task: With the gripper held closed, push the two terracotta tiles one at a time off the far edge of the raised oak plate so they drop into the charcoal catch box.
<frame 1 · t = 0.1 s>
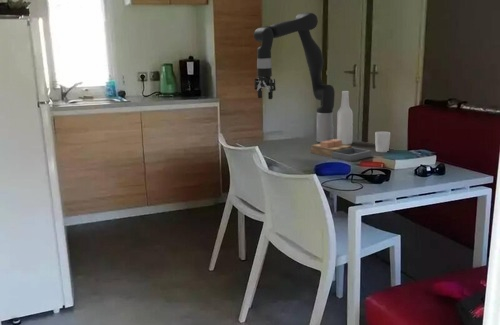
hand: (265, 98, 271), 29 cm above the table, tool pointing down, fingers open, 8 cm apart
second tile: (327, 146, 270), point 4 cm above the table, touching oak plate
white cup: (382, 151, 274), on the table
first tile: (335, 144, 274), point 4 cm above the table, touching oak plate
alcohol: (344, 143, 296), on the table
catch box: (351, 157, 262), on the table
oak plate: (331, 153, 273), on the table
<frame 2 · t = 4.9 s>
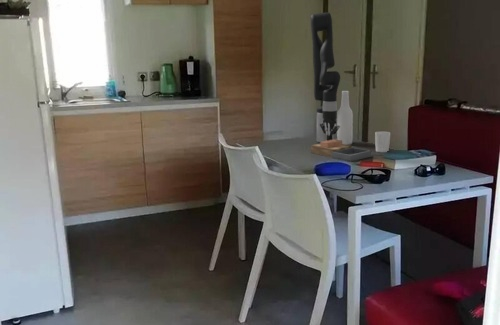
hand: (329, 141, 276), 5 cm above the table, tool pointing down, fingers closed
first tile: (335, 144, 273), point 4 cm above the table, touching gripper, oak plate
everything else where it was.
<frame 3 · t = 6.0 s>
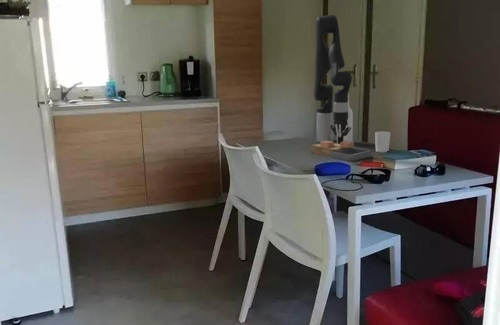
hand: (340, 143, 270), 5 cm above the table, tool pointing down, fingers closed
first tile: (347, 146, 268), point 4 cm above the table, touching gripper
everything else where it was.
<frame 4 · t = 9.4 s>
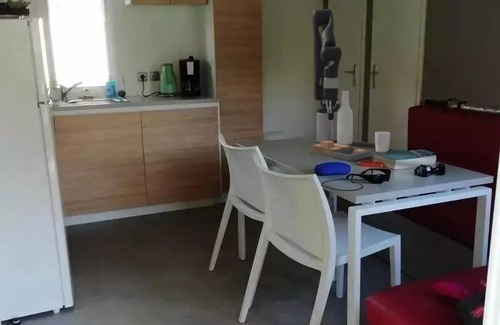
hand: (330, 120, 269), 18 cm above the table, tool pointing down, fingers closed
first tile: (359, 150, 262), point 3 cm above the table, tilted 180°, touching catch box
everything else where it was.
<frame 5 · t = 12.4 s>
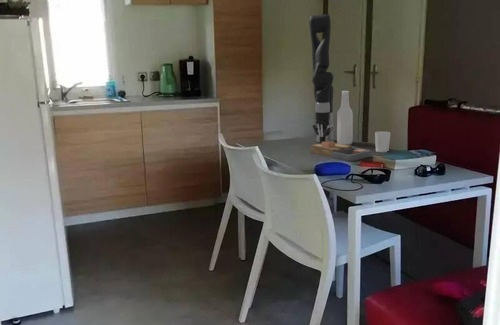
hand: (322, 143, 272), 5 cm above the table, tool pointing down, fingers closed
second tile: (328, 146, 269), point 4 cm above the table, touching gripper, oak plate
everything else where it was.
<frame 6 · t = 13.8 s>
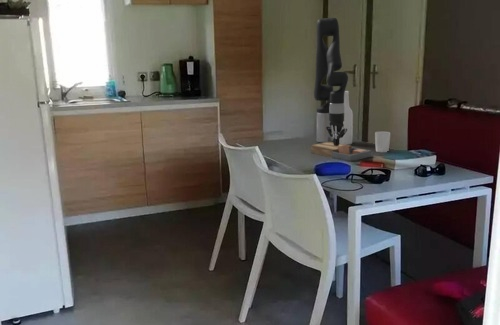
hand: (336, 145, 264), 5 cm above the table, tool pointing down, fingers closed
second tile: (342, 150, 263), point 3 cm above the table, tilted 75°, touching catch box
everything else where it was.
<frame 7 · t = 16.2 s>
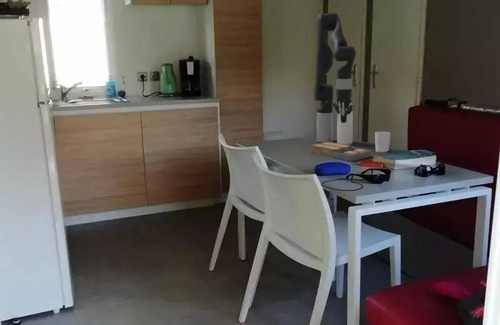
hand: (343, 122, 258), 18 cm above the table, tool pointing down, fingers closed
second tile: (350, 152, 259), point 3 cm above the table, tilted 180°, touching catch box
everything else where it was.
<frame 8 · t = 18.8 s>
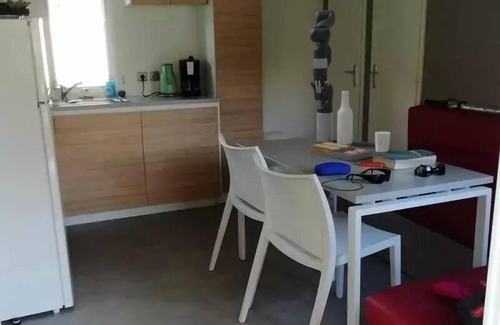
hand: (320, 100, 277), 27 cm above the table, tool pointing down, fingers closed
nothing on the table moved.
at the end: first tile inside the target area on the catch box (4.5 cm from its centre), point 3.1 cm above the catch box's base; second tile inside the target area on the catch box (2.8 cm from its centre), point 3.1 cm above the catch box's base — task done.
